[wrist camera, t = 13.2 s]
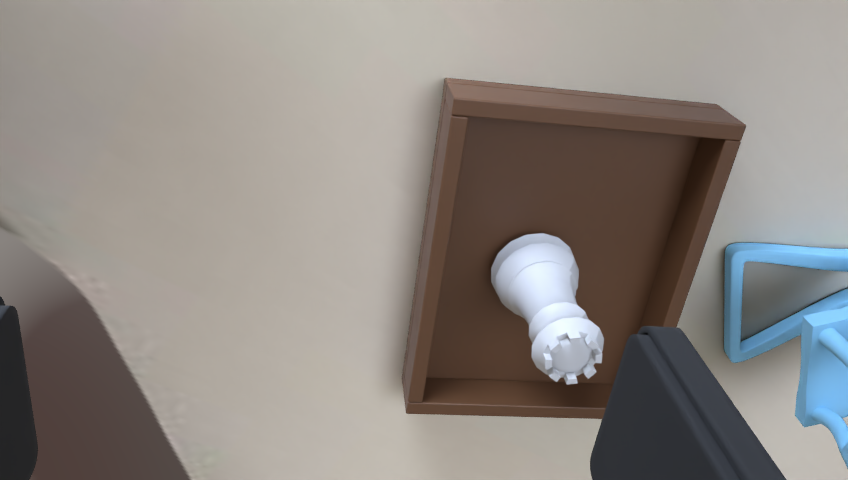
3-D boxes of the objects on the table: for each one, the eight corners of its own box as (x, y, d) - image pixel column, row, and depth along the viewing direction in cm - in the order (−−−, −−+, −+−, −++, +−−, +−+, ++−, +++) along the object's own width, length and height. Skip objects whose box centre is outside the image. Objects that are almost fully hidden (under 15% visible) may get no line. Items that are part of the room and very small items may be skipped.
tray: (445, 77, 34) (454, 97, 32) (717, 104, 36) (747, 124, 34) (401, 378, 43) (406, 414, 40) (626, 386, 45) (644, 420, 42)
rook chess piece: (544, 212, 37) (592, 299, 30) (588, 271, 39) (642, 366, 32) (472, 261, 38) (502, 356, 31) (518, 316, 40) (556, 417, 33)
